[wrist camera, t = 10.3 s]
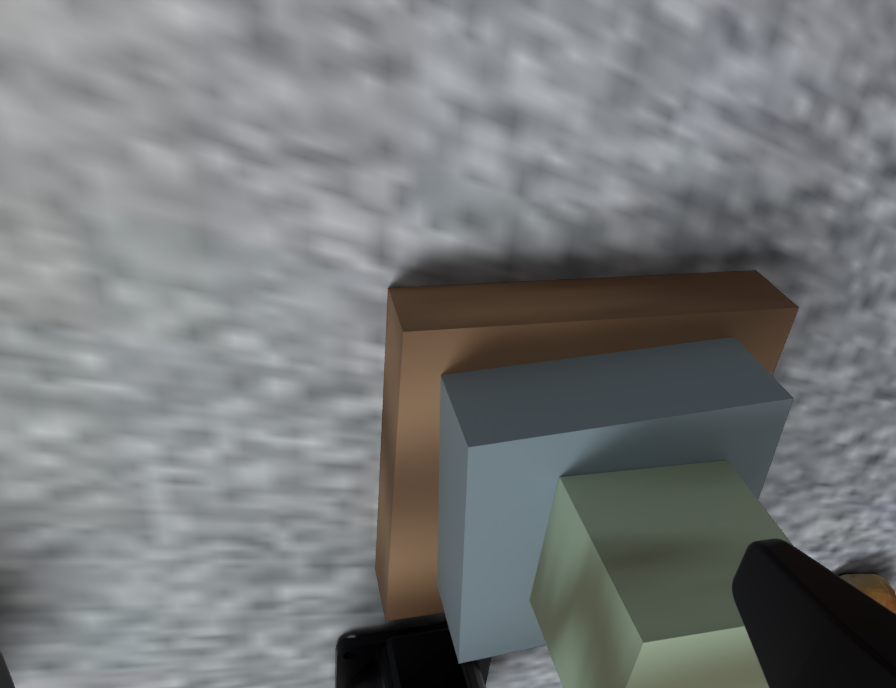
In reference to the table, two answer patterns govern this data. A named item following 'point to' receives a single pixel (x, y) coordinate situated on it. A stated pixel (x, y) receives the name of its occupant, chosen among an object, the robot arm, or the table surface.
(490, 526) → the slate top slab
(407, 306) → the walnut base slab
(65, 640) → the table surface
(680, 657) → the sage block
